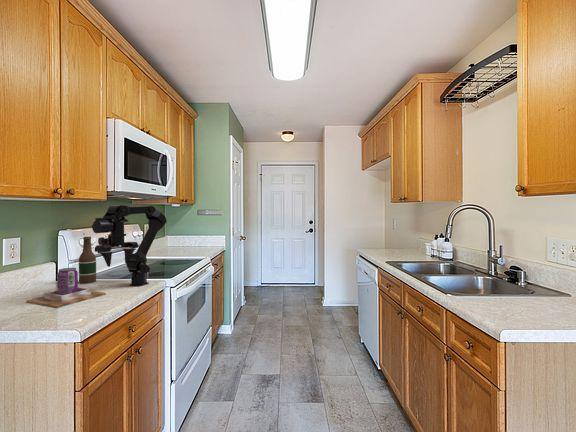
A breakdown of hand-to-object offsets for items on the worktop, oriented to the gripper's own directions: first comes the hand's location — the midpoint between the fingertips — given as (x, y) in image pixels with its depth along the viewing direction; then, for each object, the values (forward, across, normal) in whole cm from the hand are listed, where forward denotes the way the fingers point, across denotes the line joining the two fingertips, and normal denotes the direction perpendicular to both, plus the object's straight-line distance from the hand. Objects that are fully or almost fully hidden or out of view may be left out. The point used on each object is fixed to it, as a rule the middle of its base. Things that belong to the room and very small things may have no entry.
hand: (117, 265), depth 142 cm
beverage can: (+11, +18, -8) cm, 22 cm away
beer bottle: (+12, -6, -30) cm, 33 cm away
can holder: (+12, +17, -9) cm, 23 cm away
